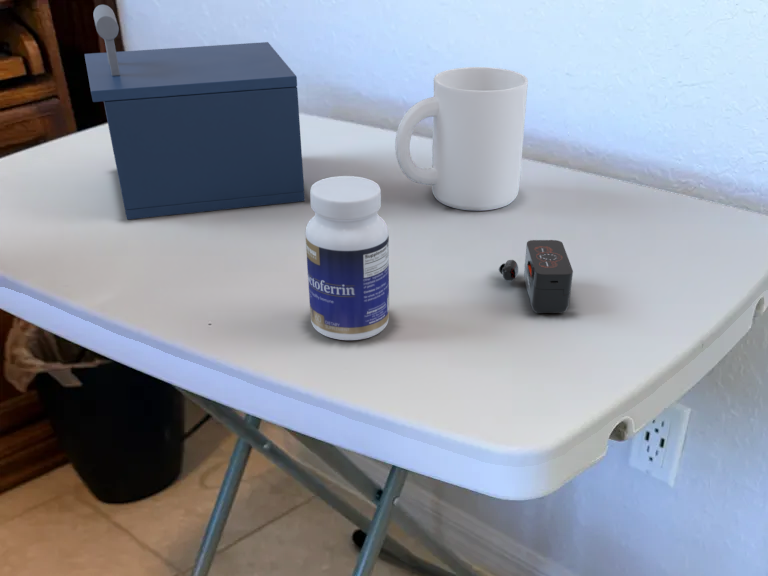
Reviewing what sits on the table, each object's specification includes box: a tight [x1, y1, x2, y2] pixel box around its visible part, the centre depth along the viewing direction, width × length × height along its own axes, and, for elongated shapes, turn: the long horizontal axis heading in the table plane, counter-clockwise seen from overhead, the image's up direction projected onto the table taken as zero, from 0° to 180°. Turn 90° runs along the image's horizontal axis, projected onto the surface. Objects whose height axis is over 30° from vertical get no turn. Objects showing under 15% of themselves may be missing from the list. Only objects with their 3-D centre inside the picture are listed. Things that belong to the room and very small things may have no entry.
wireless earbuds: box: [498, 239, 574, 314], centre depth 71 cm, size 5×7×3 cm, turn 1°
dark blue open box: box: [103, 86, 306, 221], centre depth 87 cm, size 16×13×10 cm
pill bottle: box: [305, 175, 390, 341], centre depth 64 cm, size 6×6×10 cm
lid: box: [84, 4, 298, 103], centre depth 82 cm, size 17×13×5 cm
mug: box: [394, 66, 529, 212], centre depth 84 cm, size 12×8×10 cm
